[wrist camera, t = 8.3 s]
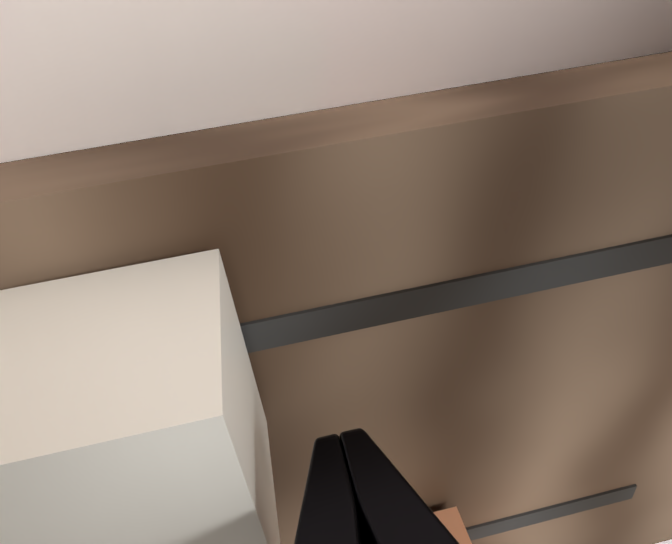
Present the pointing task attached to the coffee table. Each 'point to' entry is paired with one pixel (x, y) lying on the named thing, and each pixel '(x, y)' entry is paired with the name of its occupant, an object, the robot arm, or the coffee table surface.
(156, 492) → the block
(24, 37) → the coffee table surface
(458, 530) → the block
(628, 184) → the fader panel
